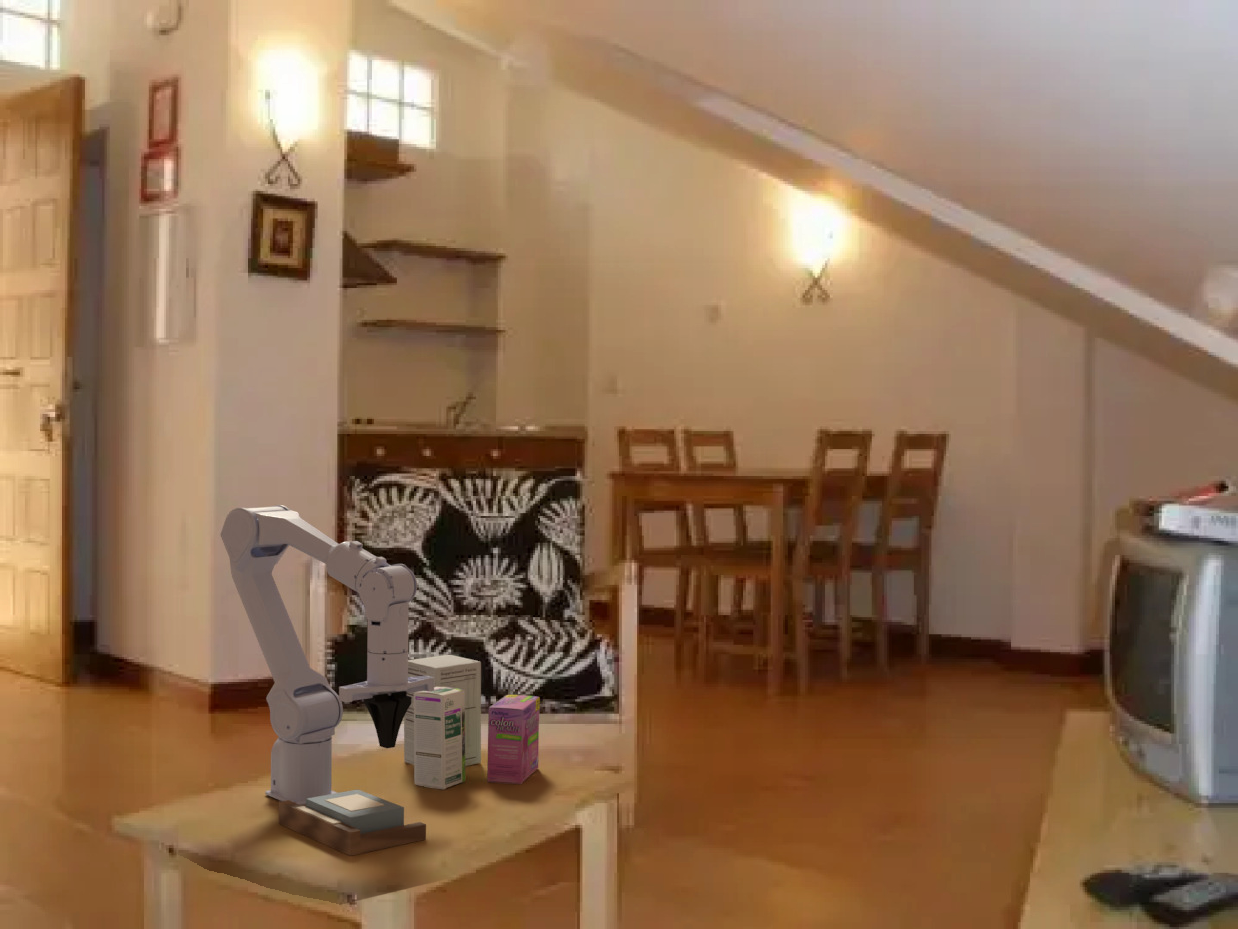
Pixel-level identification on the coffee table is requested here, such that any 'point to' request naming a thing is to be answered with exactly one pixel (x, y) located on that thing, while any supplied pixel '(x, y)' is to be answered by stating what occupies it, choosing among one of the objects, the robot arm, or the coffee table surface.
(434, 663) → the supplement box
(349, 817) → the carton
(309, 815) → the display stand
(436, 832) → the coffee table surface
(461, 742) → the syrup box
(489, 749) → the box
